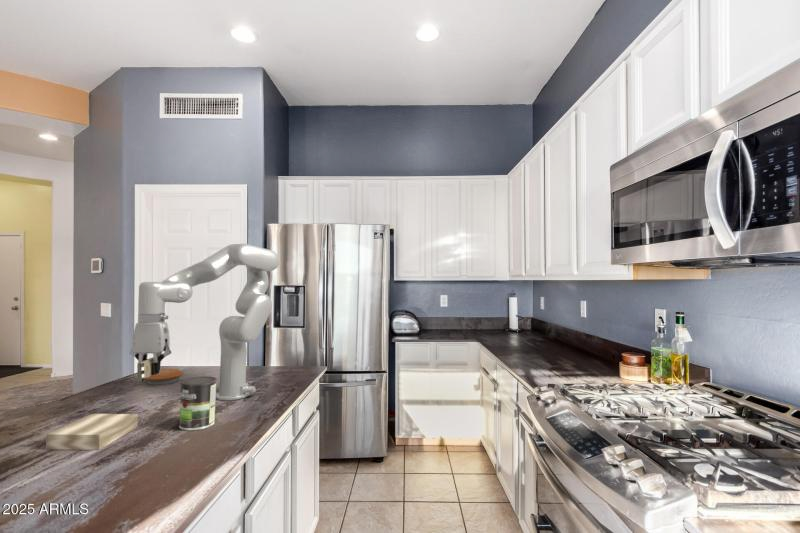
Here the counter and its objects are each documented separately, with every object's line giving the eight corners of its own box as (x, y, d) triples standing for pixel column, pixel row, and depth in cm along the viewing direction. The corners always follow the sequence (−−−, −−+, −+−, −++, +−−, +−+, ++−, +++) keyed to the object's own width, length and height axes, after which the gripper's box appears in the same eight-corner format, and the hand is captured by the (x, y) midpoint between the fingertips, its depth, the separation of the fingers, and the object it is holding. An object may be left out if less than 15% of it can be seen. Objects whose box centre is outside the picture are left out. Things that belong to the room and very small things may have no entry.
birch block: (137, 427, 121) (137, 414, 121) (98, 449, 105) (99, 434, 105) (91, 426, 120) (92, 413, 121) (45, 449, 104) (46, 434, 105)
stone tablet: (141, 363, 122) (165, 355, 134) (129, 364, 122) (154, 355, 134) (142, 381, 122) (165, 372, 134) (130, 382, 122) (155, 372, 134)
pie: (178, 376, 183) (178, 365, 183) (187, 383, 172) (187, 371, 172) (139, 381, 173) (139, 370, 173) (145, 389, 161) (146, 377, 161)
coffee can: (195, 433, 118) (197, 386, 118) (171, 427, 121) (173, 382, 122) (222, 421, 127) (224, 378, 128) (199, 416, 131) (200, 374, 131)
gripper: (182, 317, 134) (180, 371, 133) (134, 317, 133) (132, 371, 133) (169, 320, 126) (168, 377, 126) (118, 319, 126) (117, 376, 126)
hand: (150, 373), depth 130 cm, fingers closed on stone tablet, 3 cm apart
